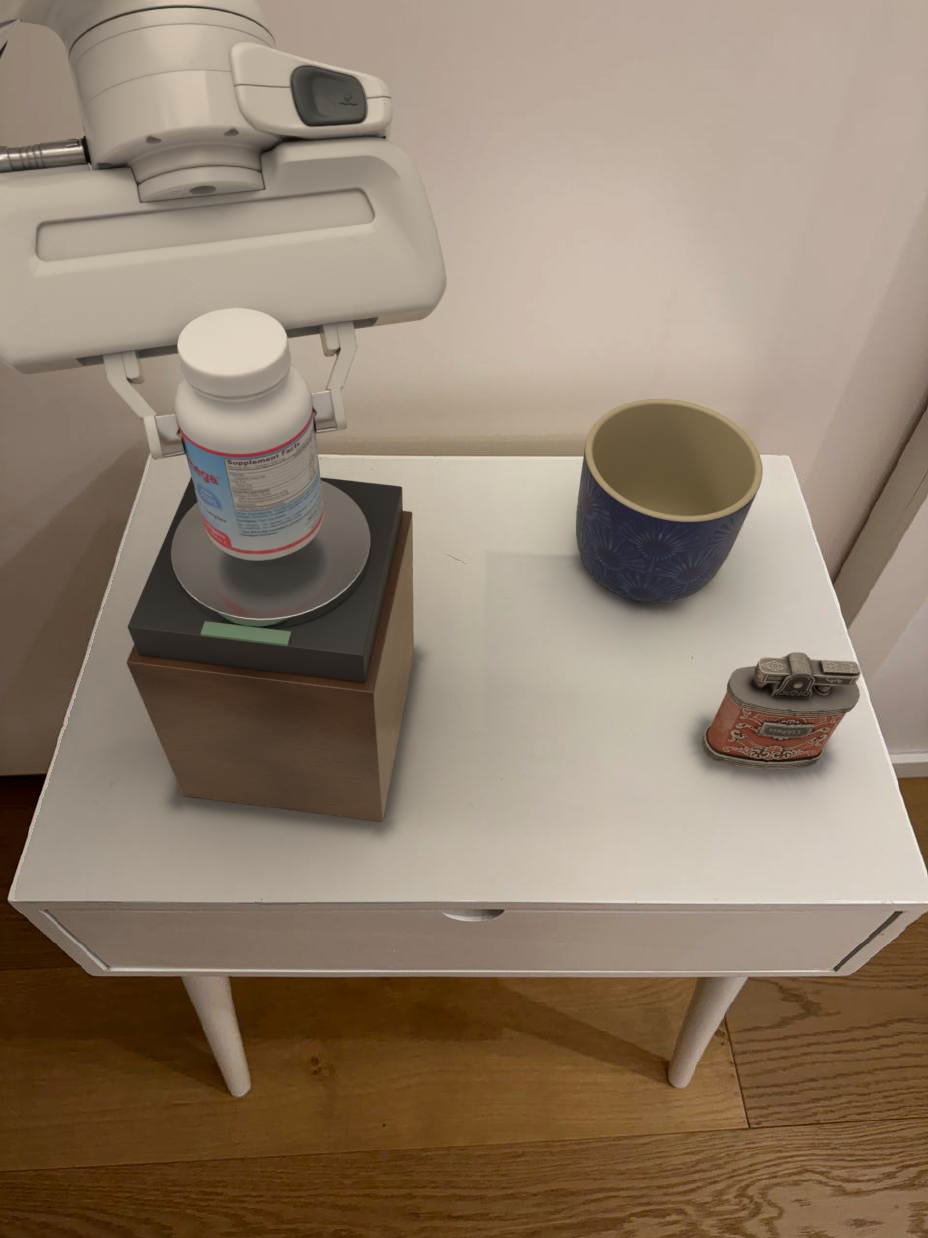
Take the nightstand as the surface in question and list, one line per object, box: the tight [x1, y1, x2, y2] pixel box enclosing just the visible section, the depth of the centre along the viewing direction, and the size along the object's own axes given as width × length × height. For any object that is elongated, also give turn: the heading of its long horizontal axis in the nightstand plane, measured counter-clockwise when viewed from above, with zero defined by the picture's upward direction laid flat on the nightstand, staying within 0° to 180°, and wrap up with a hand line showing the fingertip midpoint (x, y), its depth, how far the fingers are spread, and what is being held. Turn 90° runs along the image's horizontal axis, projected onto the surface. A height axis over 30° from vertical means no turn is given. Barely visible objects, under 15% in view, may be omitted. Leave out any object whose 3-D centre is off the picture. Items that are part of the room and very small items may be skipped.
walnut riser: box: [126, 510, 415, 822], centre depth 59 cm, size 13×13×15 cm
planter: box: [575, 398, 764, 604], centre depth 71 cm, size 12×12×11 cm
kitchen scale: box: [127, 476, 404, 683], centre depth 52 cm, size 12×12×3 cm
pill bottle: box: [174, 308, 324, 561], centre depth 45 cm, size 6×6×11 cm
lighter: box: [701, 651, 862, 770], centre depth 61 cm, size 8×3×10 cm, turn 88°
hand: (252, 443), depth 44 cm, fingers closed on pill bottle, 6 cm apart
